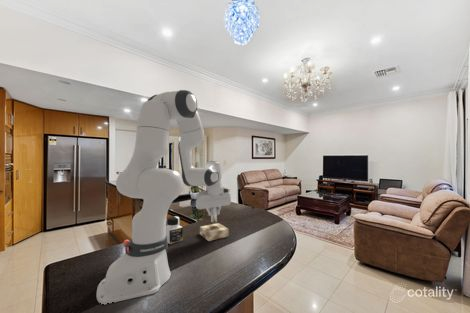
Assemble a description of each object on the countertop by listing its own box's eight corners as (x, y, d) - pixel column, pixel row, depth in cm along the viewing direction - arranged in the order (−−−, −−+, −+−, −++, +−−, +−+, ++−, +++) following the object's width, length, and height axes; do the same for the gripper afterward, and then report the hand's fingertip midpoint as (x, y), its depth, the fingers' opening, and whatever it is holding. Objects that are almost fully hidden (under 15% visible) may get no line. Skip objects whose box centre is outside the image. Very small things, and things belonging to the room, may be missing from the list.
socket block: (208, 241, 102) (208, 233, 102) (199, 233, 112) (199, 226, 112) (228, 236, 108) (228, 228, 108) (218, 229, 118) (218, 222, 118)
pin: (212, 222, 108) (212, 206, 108) (210, 221, 111) (210, 205, 111) (217, 221, 110) (217, 205, 110) (215, 220, 112) (215, 204, 113)
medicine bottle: (169, 244, 98) (169, 220, 98) (163, 240, 103) (163, 217, 104) (182, 240, 103) (182, 217, 103) (176, 236, 108) (176, 214, 108)
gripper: (198, 192, 102) (198, 219, 102) (232, 189, 113) (232, 213, 113) (194, 191, 108) (194, 216, 107) (226, 187, 118) (226, 211, 118)
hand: (214, 214), depth 110 cm, fingers closed on pin, 3 cm apart
